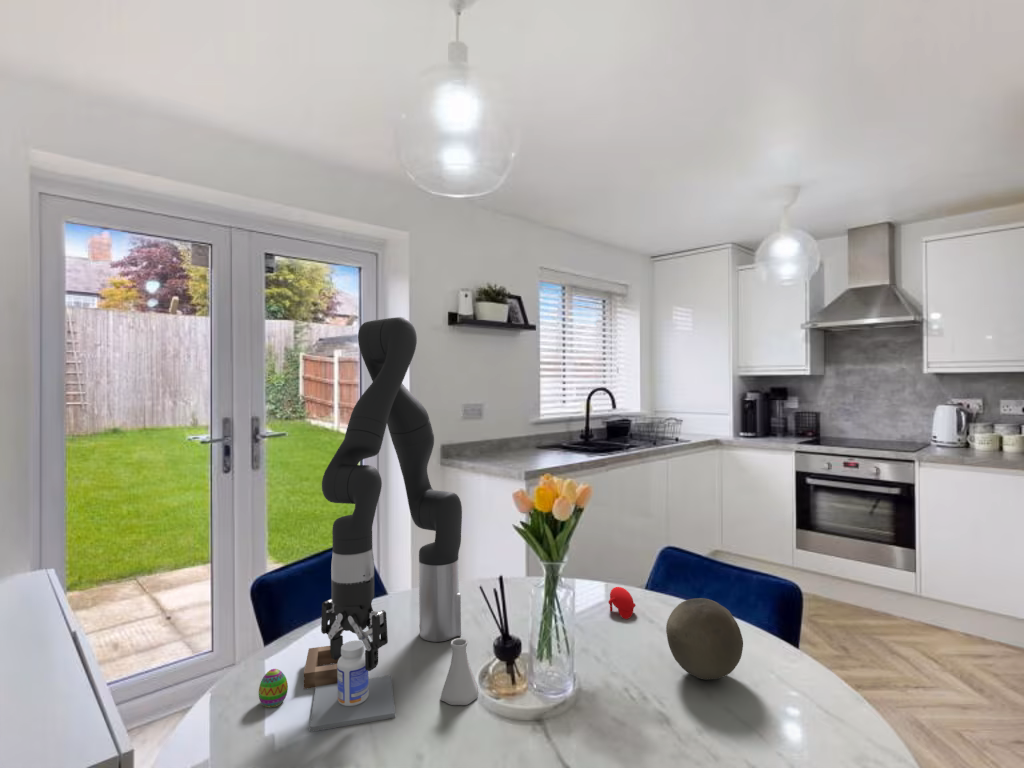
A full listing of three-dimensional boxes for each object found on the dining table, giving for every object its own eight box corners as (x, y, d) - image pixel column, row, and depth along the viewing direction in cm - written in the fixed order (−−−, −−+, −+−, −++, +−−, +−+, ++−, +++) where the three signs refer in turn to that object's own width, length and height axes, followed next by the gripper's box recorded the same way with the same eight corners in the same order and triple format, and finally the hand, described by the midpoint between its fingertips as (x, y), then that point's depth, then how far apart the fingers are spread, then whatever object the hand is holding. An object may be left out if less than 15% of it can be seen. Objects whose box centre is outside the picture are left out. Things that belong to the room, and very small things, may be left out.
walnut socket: (361, 655, 117) (361, 641, 117) (361, 680, 106) (361, 665, 106) (308, 662, 114) (308, 648, 114) (303, 689, 103) (303, 673, 104)
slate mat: (391, 679, 107) (391, 675, 107) (395, 717, 94) (395, 712, 94) (315, 690, 103) (315, 686, 103) (309, 731, 90) (309, 727, 90)
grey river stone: (669, 656, 115) (668, 585, 115) (741, 666, 110) (740, 592, 110) (664, 691, 101) (663, 610, 102) (746, 704, 97) (745, 620, 97)
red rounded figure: (601, 595, 141) (605, 590, 136) (621, 585, 142) (625, 580, 137) (616, 625, 137) (621, 621, 132) (637, 615, 139) (642, 611, 133)
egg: (255, 711, 96) (255, 677, 96) (262, 696, 101) (262, 664, 101) (284, 708, 97) (284, 674, 97) (290, 693, 102) (290, 661, 102)
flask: (485, 688, 103) (484, 636, 103) (469, 710, 96) (469, 653, 96) (450, 682, 105) (450, 631, 106) (433, 703, 99) (432, 647, 99)
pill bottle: (372, 691, 101) (372, 638, 101) (362, 708, 96) (361, 652, 96) (344, 690, 102) (344, 637, 102) (332, 706, 96) (332, 651, 96)
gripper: (309, 574, 99) (310, 663, 99) (367, 587, 92) (368, 683, 92) (340, 562, 106) (341, 646, 105) (396, 574, 99) (397, 663, 98)
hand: (353, 663), depth 99 cm, fingers open, 8 cm apart
